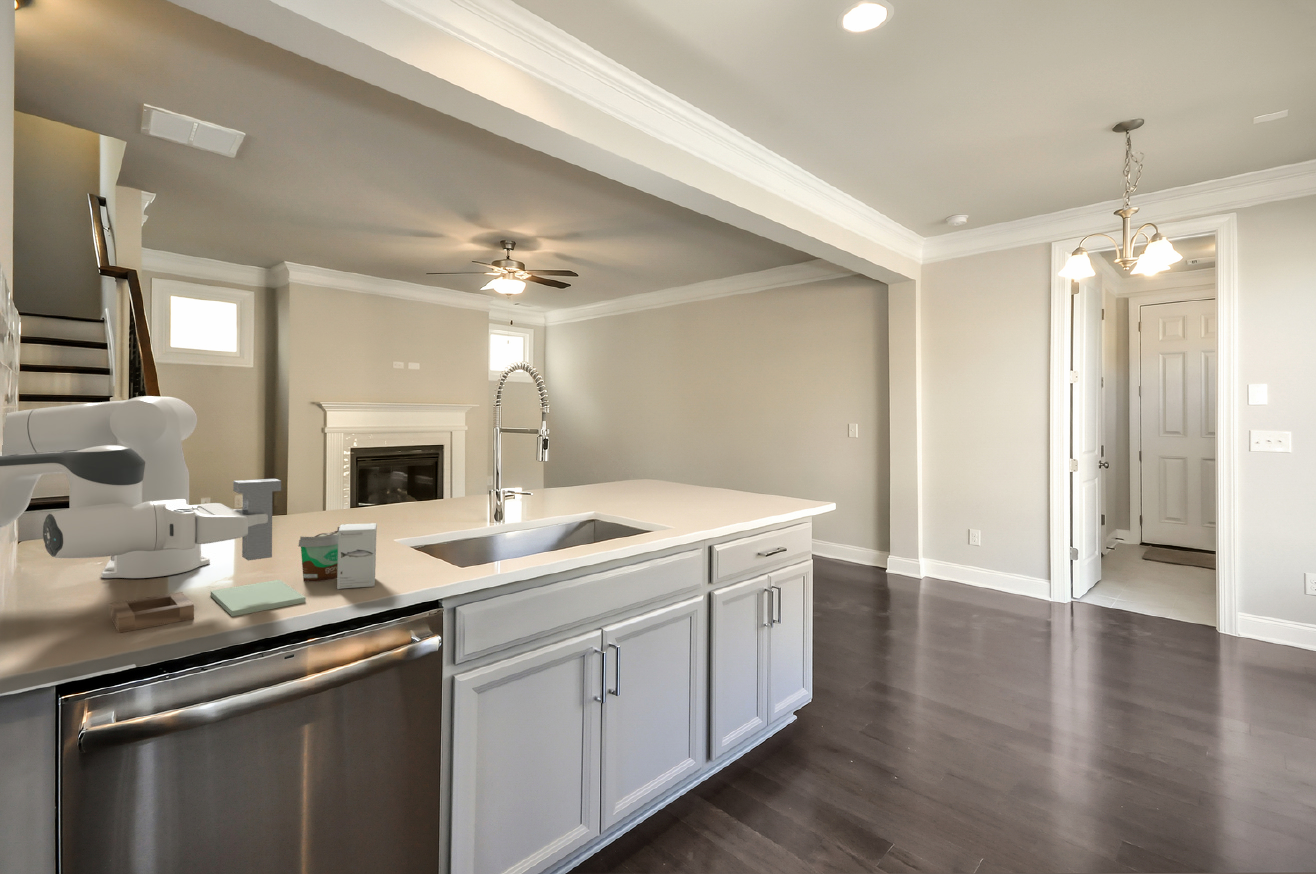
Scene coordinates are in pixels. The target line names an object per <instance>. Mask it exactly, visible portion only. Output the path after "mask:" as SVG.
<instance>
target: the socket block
mask: <svg viewBox="0 0 1316 874" xmlns="http://www.w3.org/2000/svg"><path fill="white" fill-rule="evenodd" d="M110 618H111V621H112V623H113V624H114V626H115V628H116V630H117V632H118V634H121V633H126V632H130V631H131V632H132V631H136V630H142V629H147V628H152V627H157V626H162V625H168V624H173V623H178V622H184V621H188V620H189V621H190V620H194V619H195V604H194V603H193V602H192V601H191V600H190V599H189V598H188V597H187V596H186V594H184V592H183V591H179V592H173V593H172V592H171V593H166V594H161V595H154V596H150V597H149V596H148V597H143V598H142V597H141V598H137V599H130V600H125V601H118V602H117V601H116V602H111V603H110Z"/></svg>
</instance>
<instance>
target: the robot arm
mask: <svg viewBox="0 0 1316 874" xmlns="http://www.w3.org/2000/svg"><path fill="white" fill-rule="evenodd" d="M6 413H7V416H6V422H5V427H4V432H3V445H2V456H0V530H1V529H3V528H5V527H7V526H9V525H11V524H12V523H13V522H15V521H17V519H19V518H20V517H21V515H23V513H25V512H26V510H27V508H28V507H29V505H30V503H31V499H32V496H33V494H34V493H33V492H34V490H35V488H36V485H37V483H38V482H39V480H40V478H41V477H42V476H43V475H58V474H64V475H66V477H67V480H68V481H67V482H68V484H69V488H68V489H69V496H68V497H69V498H68V499H69V508H65V509H61V510H57V511H56V510H55V511H51V512H49V513H48V514H47V516H45V519H44V522H43V526H42V538H43V542H44V547H45V550H46V552H47V553H48V554H49V555H50V556H51V558H55V559H91V558H93V559H94V558H105V557H107V558H108V557H110V559H109V560H108V562H107V563H106V565H105V567H104V569H103V570H102V572H101V577H100V578H102V579H113V578H115V579H116V578H122V579H123V578H124V579H145V578H156V577H157V578H158V577H164V576H172V575H177V574H181V573H185V572H189V571H192V570H196V568H200V567H201V566H205V565H208V564H211V561H210V559H211V558H209V557H205V556H202V546H201V545H205V544H206V545H207V544H214V543H219V542H226V541H231V540H236V539H240V538H241V539H242V537H244V536H246V535H247V534H248V527H249V526H253V525H256V524H262V523H267V522H268V515H267V514H265V513H258V514H253V515H242V509H241V508H240V509H239V508H231V507H229V506H226V505H225V504H223V503H221V502H212V503H200V504H190V471H189V468H188V466H187V463H186V460H185V455H184V451H183V444H182V443H183V441H184V440H186V439H188V438H189V437H190V436H191V435H192V434H193V432H194V431H195V429H196V427H197V424H198V415H197V413H196V412H195V410H194V409H193V407H192V406H191V405H190V404H188V403H187V402H186V401H184V400H182V399H180V398H177V397H174V396H173V397H172V396H155V395H153V396H152V395H144V396H142V395H141V396H140V395H139V396H136V397H132V398H129V399H125V400H114V401H113V400H112V401H102V402H101V401H100V402H89V403H78V404H69V405H62V406H61V405H60V406H50V407H41V408H32V409H24V410H18V411H11V412H6Z"/></svg>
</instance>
